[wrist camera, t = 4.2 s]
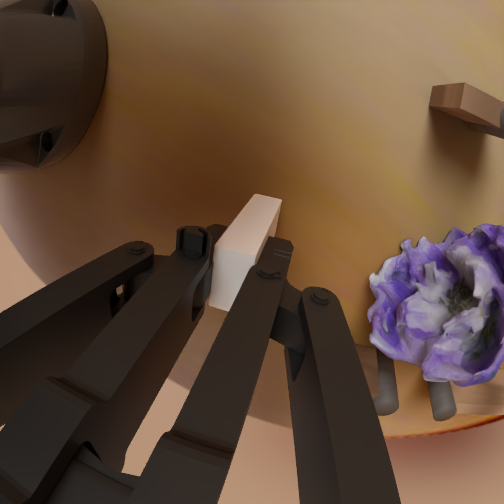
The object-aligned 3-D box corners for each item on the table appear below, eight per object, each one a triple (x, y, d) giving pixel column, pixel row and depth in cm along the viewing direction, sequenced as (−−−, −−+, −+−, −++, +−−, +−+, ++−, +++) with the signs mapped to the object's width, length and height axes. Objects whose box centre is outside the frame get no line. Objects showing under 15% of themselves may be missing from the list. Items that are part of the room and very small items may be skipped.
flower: (553, 360, 11) (525, 371, 7) (448, 390, 18) (361, 403, 14) (523, 228, 15) (468, 163, 11) (434, 275, 22) (349, 241, 18)
